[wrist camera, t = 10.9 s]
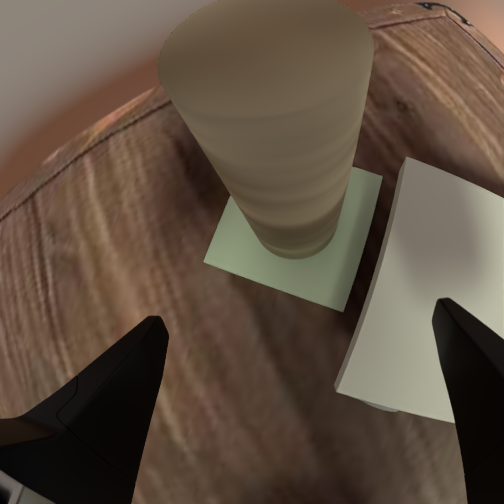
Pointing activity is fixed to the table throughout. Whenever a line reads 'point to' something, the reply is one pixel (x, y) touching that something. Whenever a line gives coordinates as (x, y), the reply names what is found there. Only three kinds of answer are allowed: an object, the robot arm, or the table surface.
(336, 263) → the pad
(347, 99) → the birch roller
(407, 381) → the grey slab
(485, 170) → the table surface
